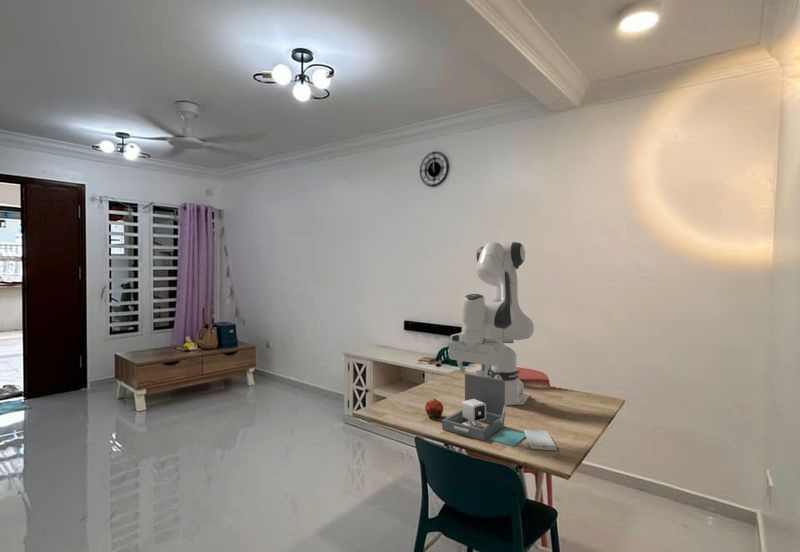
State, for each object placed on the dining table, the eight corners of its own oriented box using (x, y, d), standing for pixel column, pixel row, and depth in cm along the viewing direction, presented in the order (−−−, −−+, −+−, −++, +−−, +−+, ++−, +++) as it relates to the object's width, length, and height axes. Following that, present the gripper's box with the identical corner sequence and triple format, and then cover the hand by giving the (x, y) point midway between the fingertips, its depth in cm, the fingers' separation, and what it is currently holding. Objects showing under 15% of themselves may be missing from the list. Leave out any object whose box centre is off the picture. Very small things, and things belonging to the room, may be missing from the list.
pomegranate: (443, 425, 171) (447, 404, 178) (439, 414, 166) (442, 393, 174) (425, 425, 173) (430, 404, 181) (421, 414, 169) (425, 393, 177)
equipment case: (465, 416, 175) (465, 373, 174) (507, 426, 164) (507, 380, 163) (441, 429, 160) (441, 383, 160) (484, 442, 149) (484, 392, 149)
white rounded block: (473, 432, 158) (473, 405, 157) (460, 426, 163) (460, 400, 163) (486, 429, 161) (486, 402, 161) (473, 423, 167) (473, 397, 167)
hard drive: (524, 429, 155) (531, 444, 143) (547, 430, 155) (556, 445, 142) (524, 433, 155) (531, 449, 143) (547, 435, 155) (556, 450, 142)
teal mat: (504, 429, 160) (504, 428, 160) (527, 435, 155) (527, 434, 155) (489, 440, 151) (489, 438, 151) (513, 446, 145) (513, 445, 145)
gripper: (503, 339, 157) (502, 376, 158) (454, 333, 170) (454, 368, 170) (495, 341, 152) (495, 380, 153) (446, 335, 165) (446, 371, 165)
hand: (473, 374), depth 161 cm, fingers open, 8 cm apart
